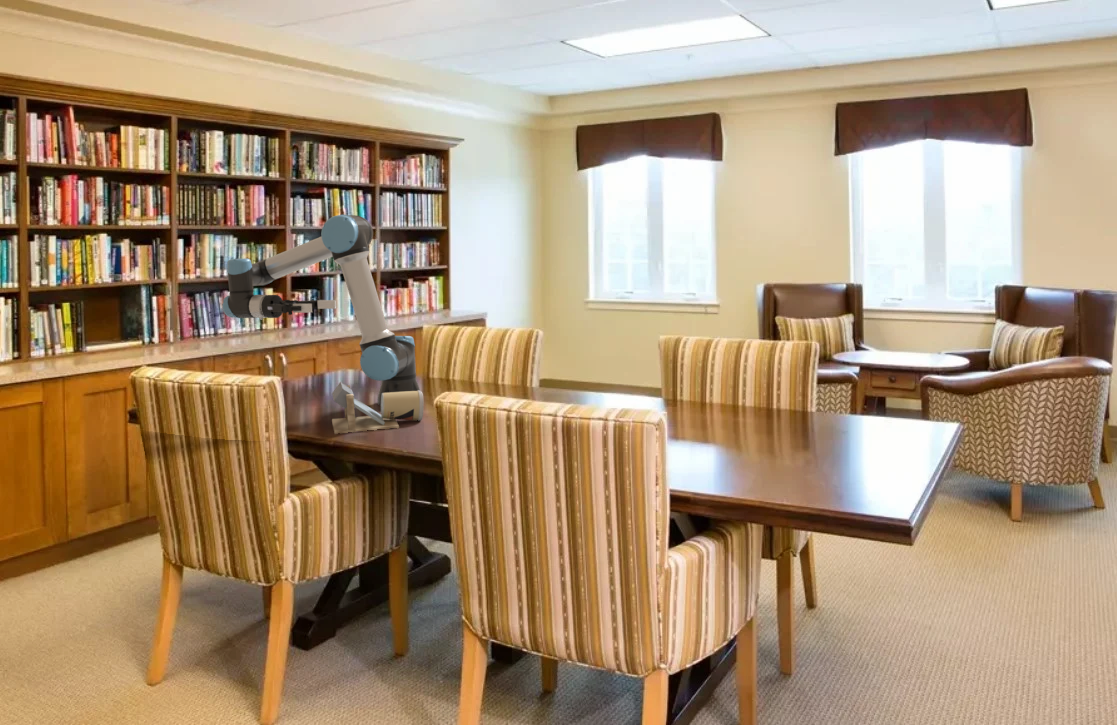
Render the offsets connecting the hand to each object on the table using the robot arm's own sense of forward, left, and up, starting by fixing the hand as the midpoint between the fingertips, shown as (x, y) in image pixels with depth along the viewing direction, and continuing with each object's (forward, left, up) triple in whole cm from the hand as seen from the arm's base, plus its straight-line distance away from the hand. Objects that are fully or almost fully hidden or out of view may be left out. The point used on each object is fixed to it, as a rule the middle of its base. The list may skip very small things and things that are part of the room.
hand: (323, 306), depth 290 cm
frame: (-9, +22, -35) cm, 42 cm away
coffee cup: (-14, +23, -29) cm, 40 cm away
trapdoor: (-7, +22, -31) cm, 38 cm away
